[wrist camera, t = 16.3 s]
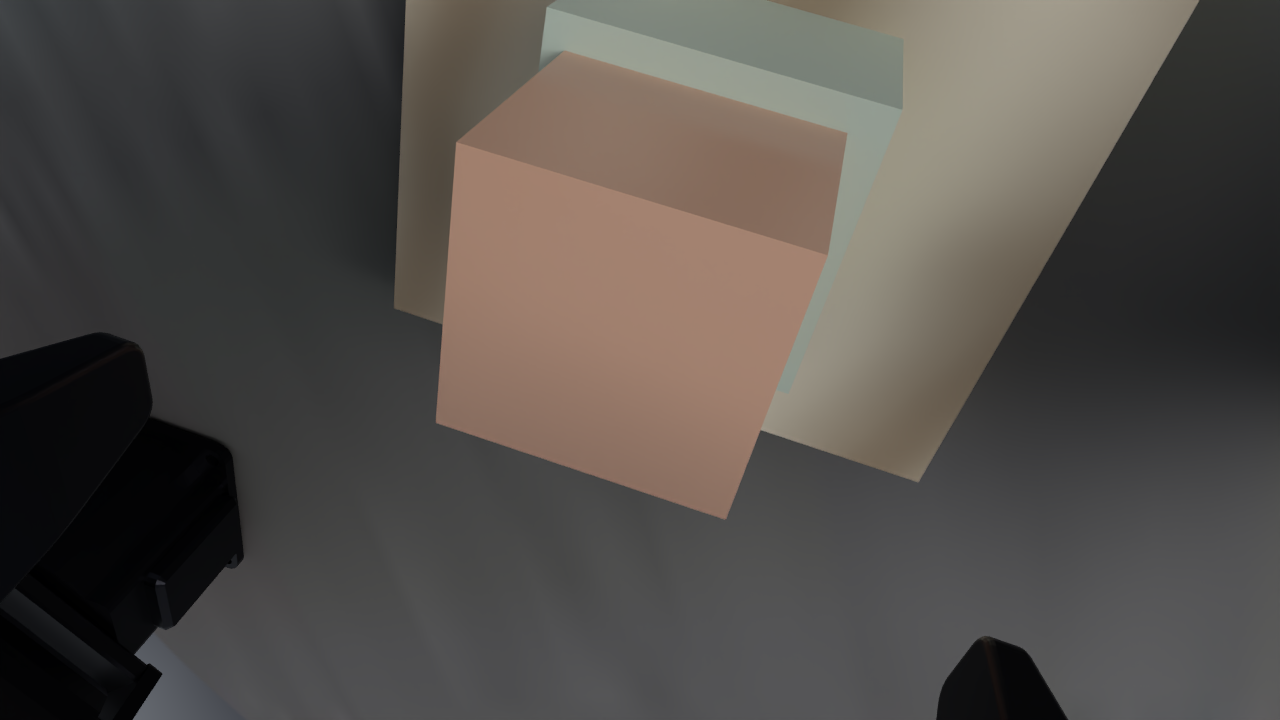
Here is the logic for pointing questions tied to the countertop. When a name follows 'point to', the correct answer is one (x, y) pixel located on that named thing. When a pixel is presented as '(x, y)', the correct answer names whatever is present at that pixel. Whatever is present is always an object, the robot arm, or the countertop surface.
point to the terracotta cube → (631, 275)
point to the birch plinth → (896, 205)
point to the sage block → (758, 82)
